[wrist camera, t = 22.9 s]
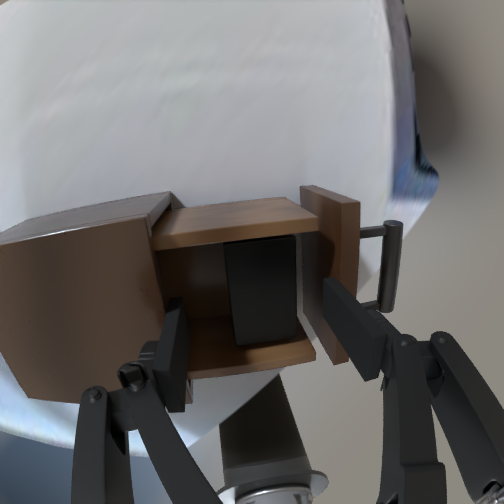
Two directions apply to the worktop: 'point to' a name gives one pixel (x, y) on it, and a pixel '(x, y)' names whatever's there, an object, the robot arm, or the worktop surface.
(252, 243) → the dark grey rectangular block
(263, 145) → the worktop surface
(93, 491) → the robot arm
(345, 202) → the drawer
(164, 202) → the cabinet
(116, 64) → the worktop surface
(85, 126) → the worktop surface
